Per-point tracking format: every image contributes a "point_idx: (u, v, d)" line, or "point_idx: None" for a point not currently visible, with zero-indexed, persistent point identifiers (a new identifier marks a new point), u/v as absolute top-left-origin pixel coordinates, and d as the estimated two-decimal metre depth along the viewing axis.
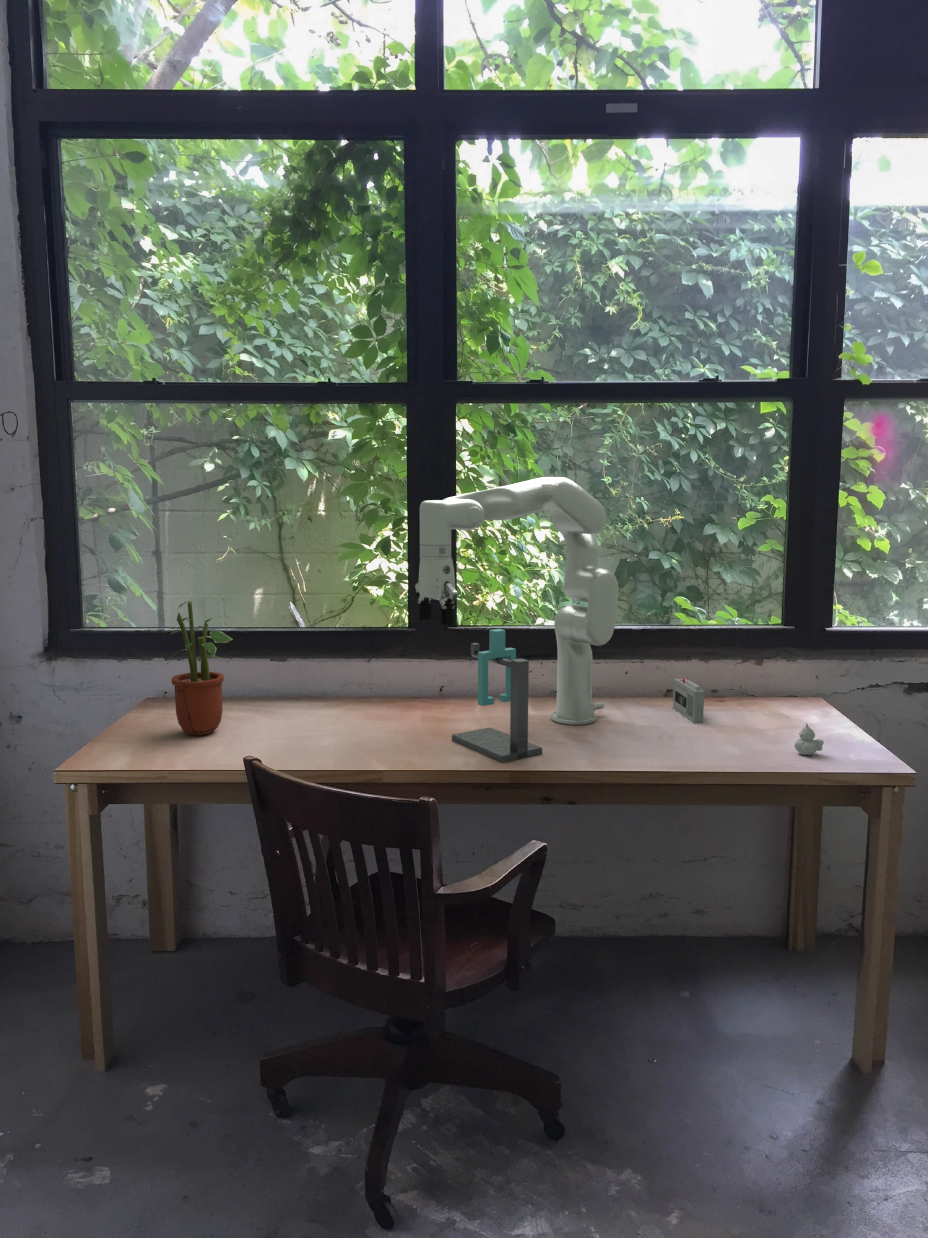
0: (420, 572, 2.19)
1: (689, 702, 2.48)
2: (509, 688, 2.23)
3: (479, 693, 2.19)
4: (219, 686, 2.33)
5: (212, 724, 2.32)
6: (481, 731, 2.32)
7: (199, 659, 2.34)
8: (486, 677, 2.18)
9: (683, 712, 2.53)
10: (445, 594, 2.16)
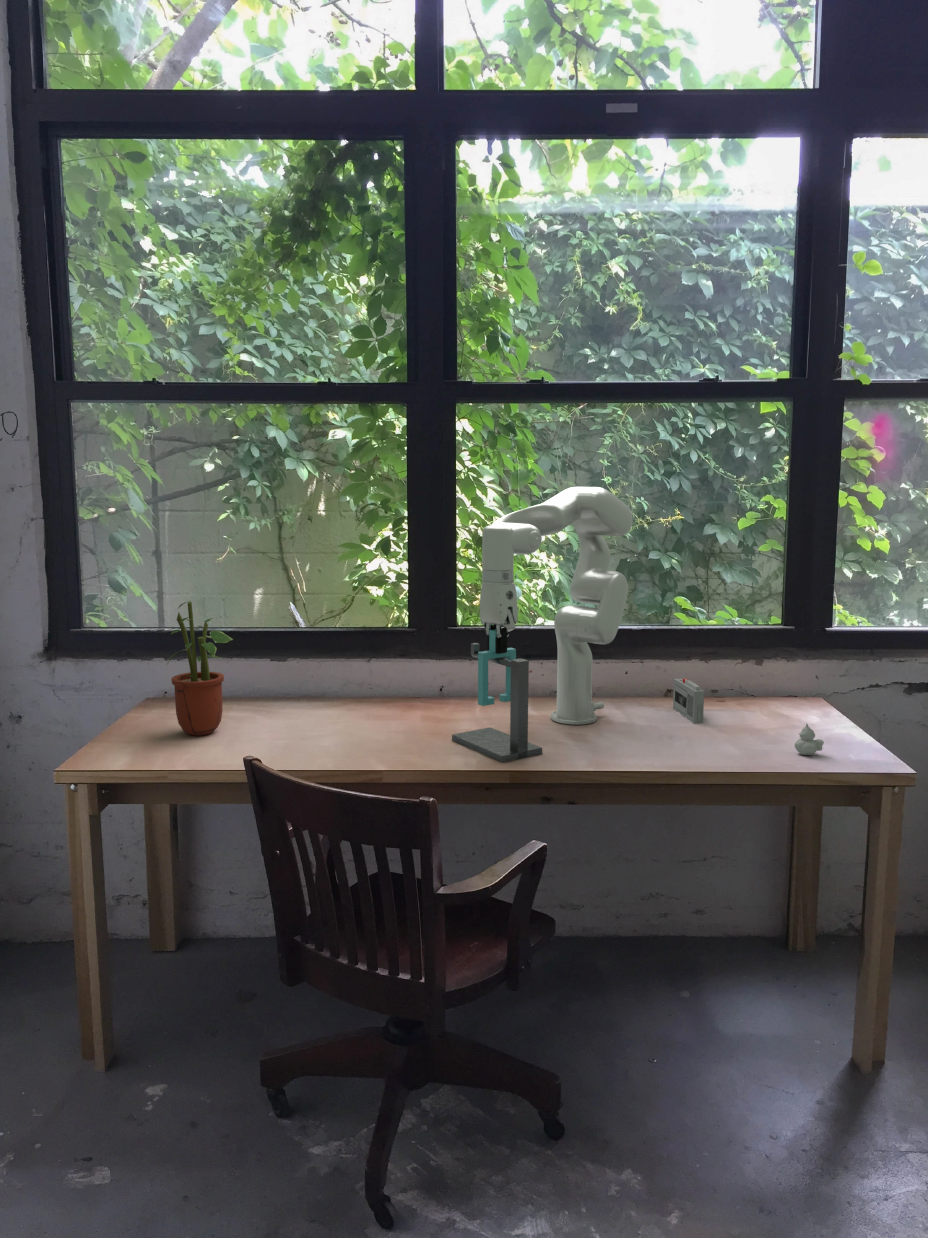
0: (482, 597, 2.19)
1: (689, 702, 2.48)
2: (509, 688, 2.23)
3: (479, 693, 2.19)
4: (219, 686, 2.33)
5: (212, 724, 2.32)
6: (481, 731, 2.32)
7: (199, 659, 2.34)
8: (486, 677, 2.18)
9: (683, 712, 2.53)
10: (504, 620, 2.17)
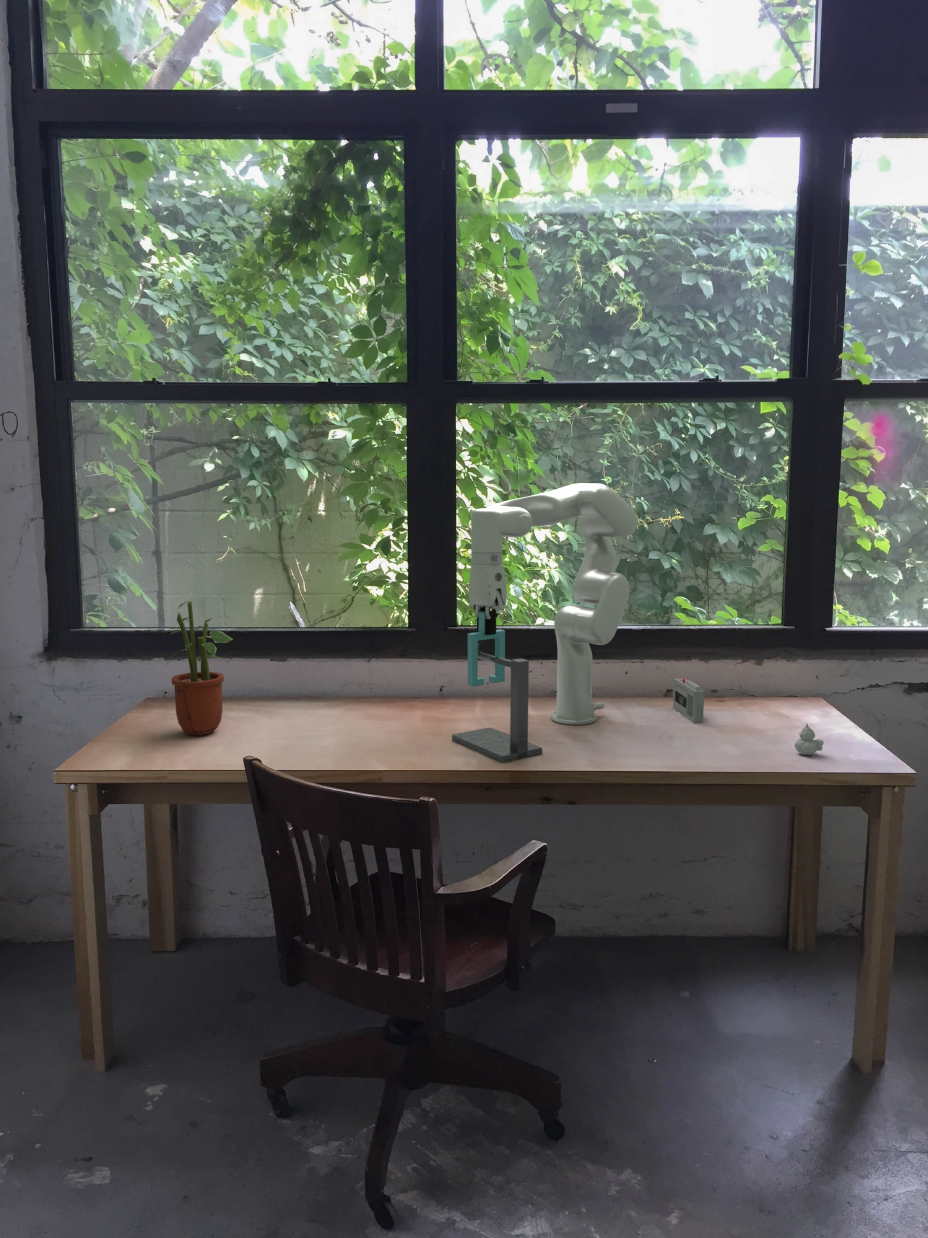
0: (471, 579, 2.22)
1: (689, 702, 2.48)
2: (498, 669, 2.26)
3: (469, 674, 2.22)
4: (219, 686, 2.33)
5: (212, 724, 2.32)
6: (481, 731, 2.32)
7: (199, 659, 2.34)
8: (476, 658, 2.21)
9: (683, 712, 2.53)
10: (493, 602, 2.21)
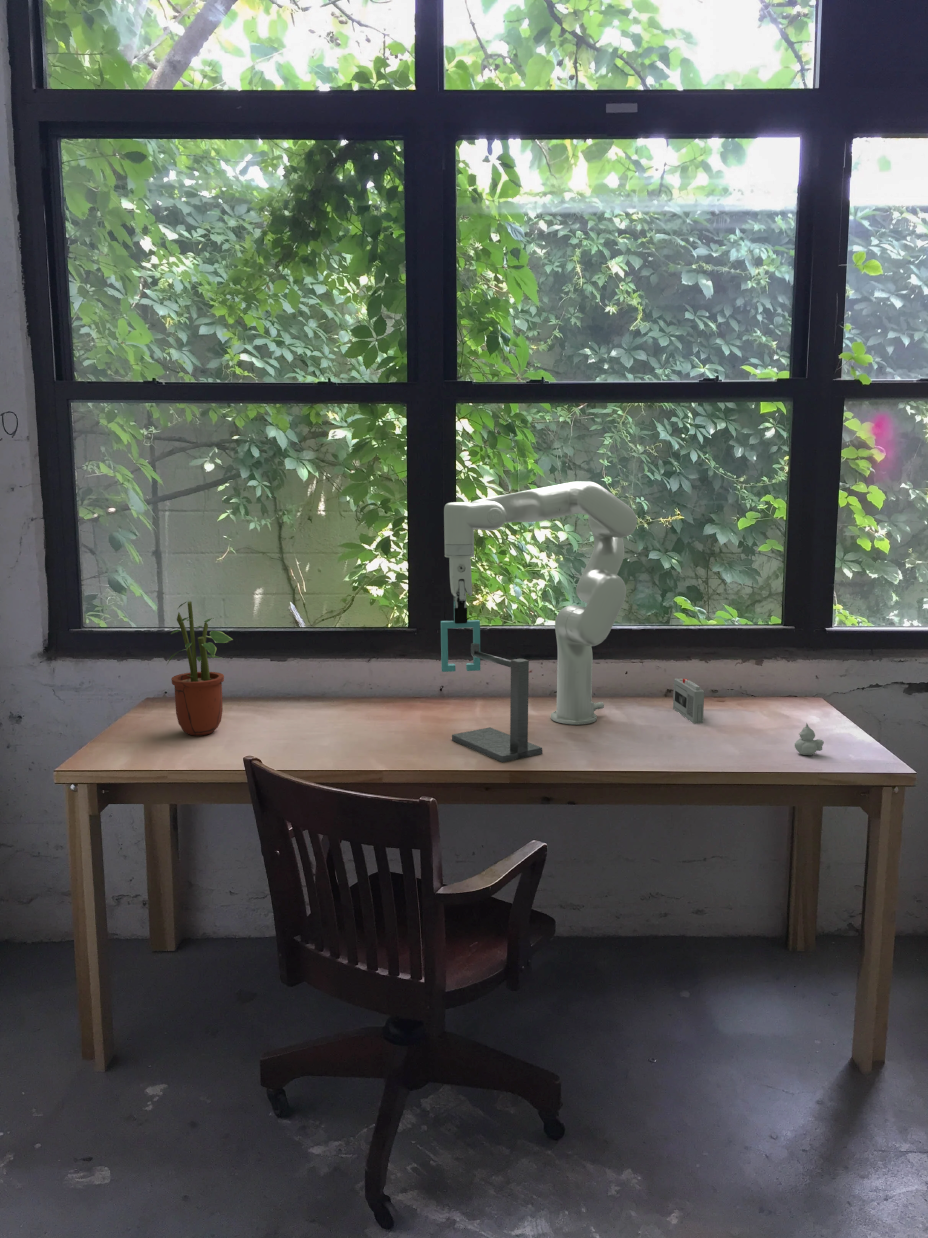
0: None
1: (689, 702, 2.48)
2: (474, 658, 2.34)
3: (441, 660, 2.34)
4: (219, 686, 2.33)
5: (212, 724, 2.32)
6: (481, 731, 2.32)
7: (199, 659, 2.34)
8: (445, 645, 2.32)
9: (683, 712, 2.53)
10: None
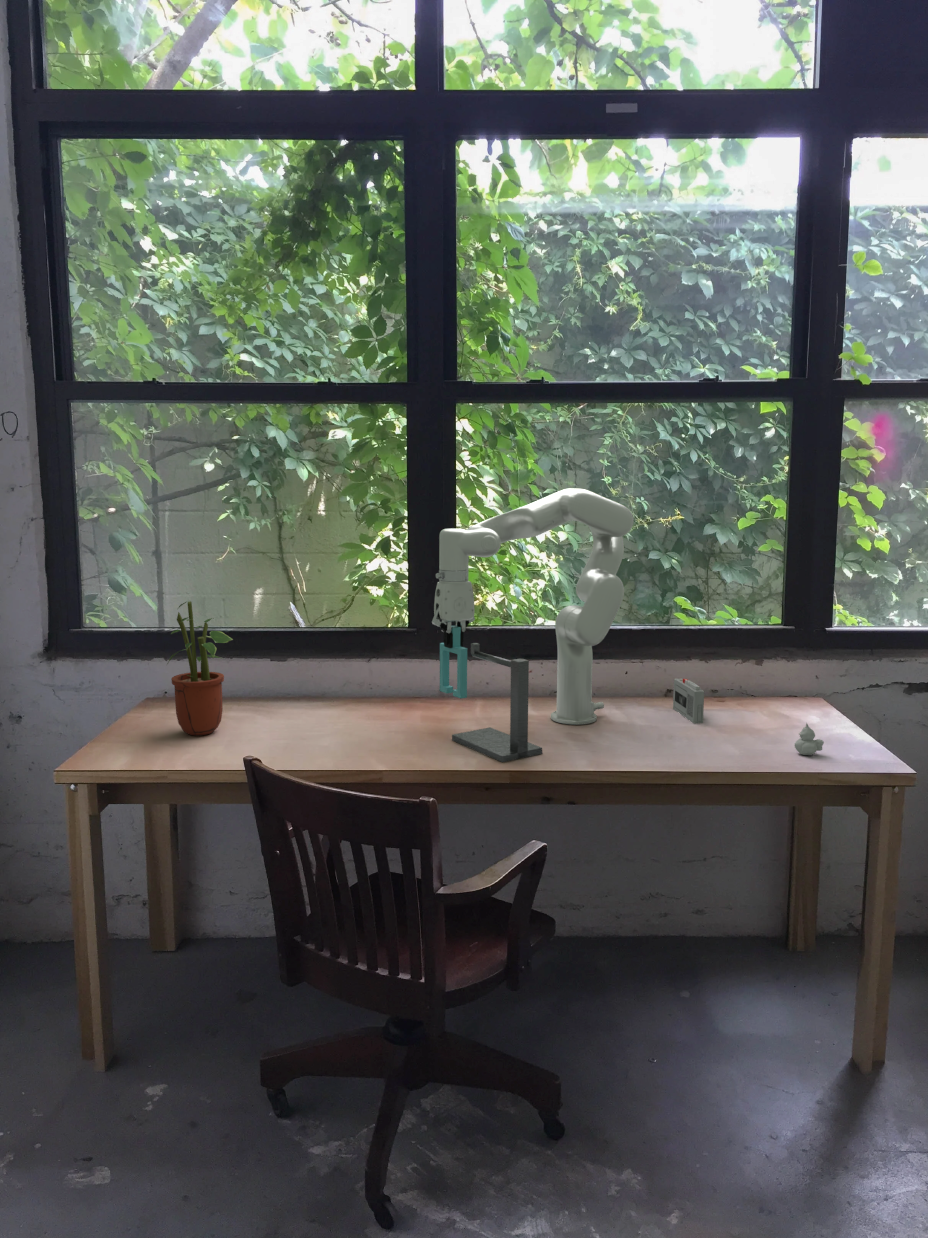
0: None
1: (689, 702, 2.48)
2: None
3: None
4: (219, 686, 2.33)
5: (212, 724, 2.32)
6: (481, 731, 2.32)
7: (199, 659, 2.34)
8: (442, 666, 2.39)
9: (683, 712, 2.53)
10: None
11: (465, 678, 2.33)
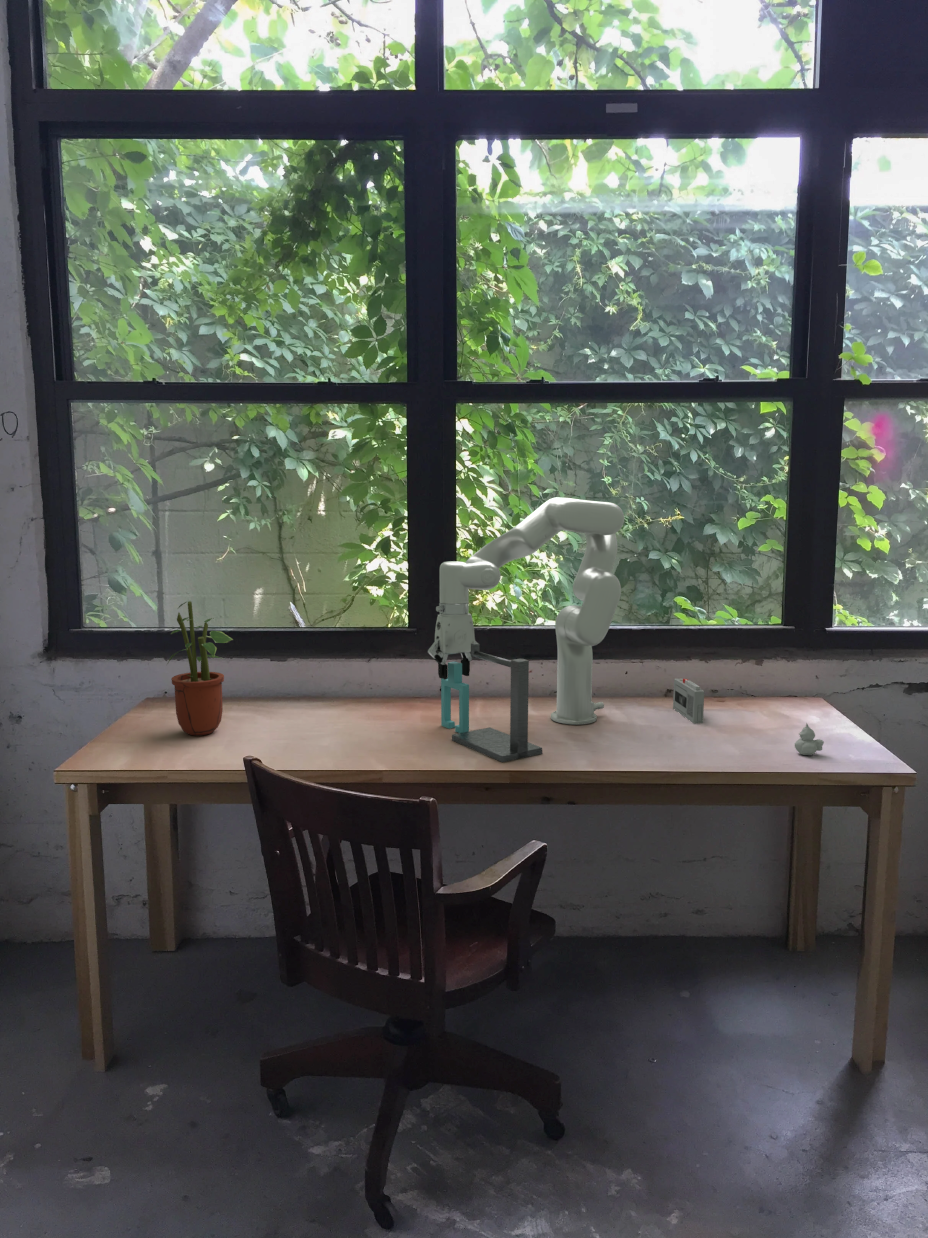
0: None
1: (689, 702, 2.48)
2: None
3: None
4: (219, 686, 2.33)
5: (212, 724, 2.32)
6: (481, 731, 2.32)
7: (199, 659, 2.34)
8: (443, 701, 2.41)
9: (683, 712, 2.53)
10: None
11: (467, 714, 2.35)
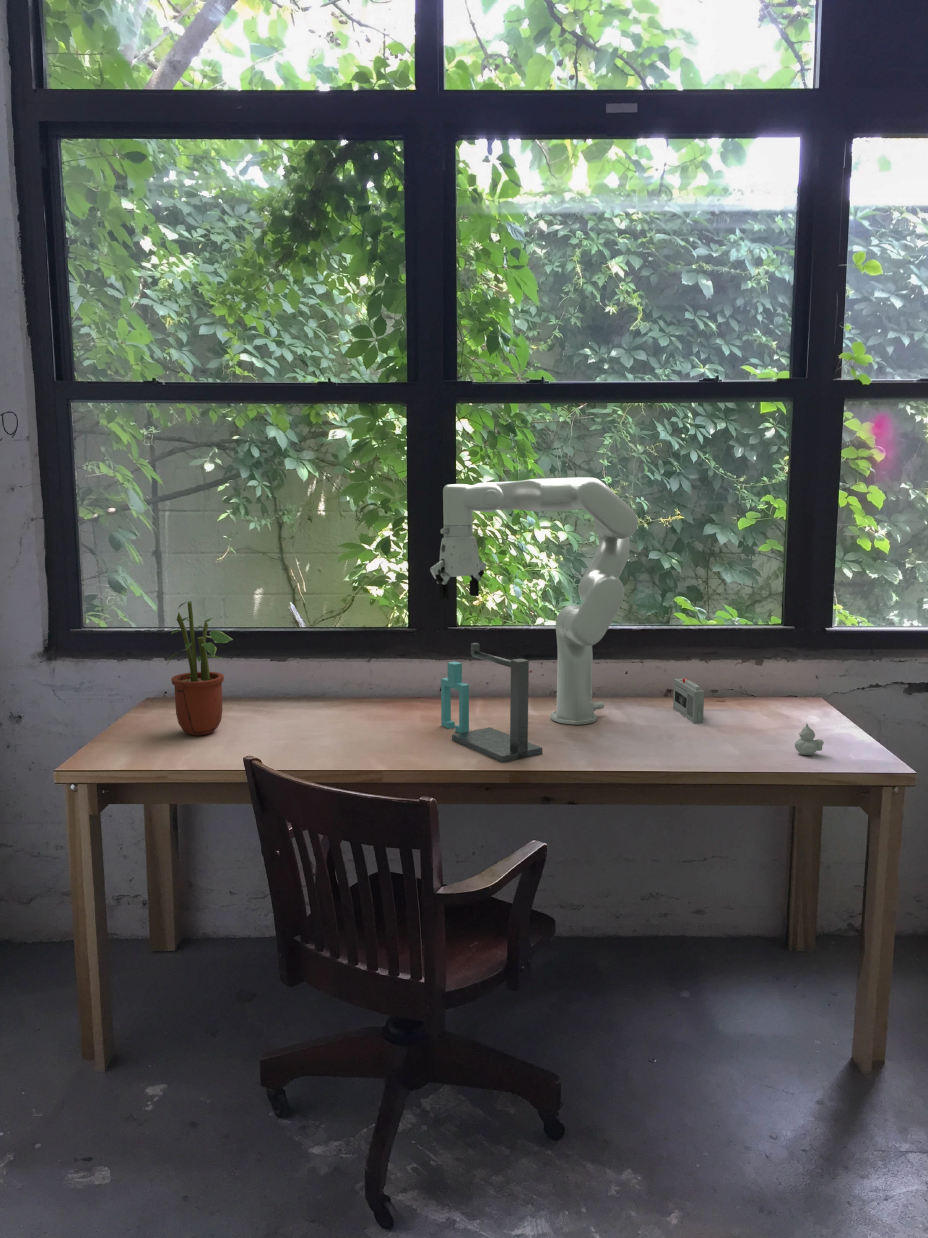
0: None
1: (689, 702, 2.48)
2: None
3: None
4: (219, 686, 2.33)
5: (212, 724, 2.32)
6: (481, 731, 2.32)
7: (199, 659, 2.34)
8: (443, 701, 2.41)
9: (683, 712, 2.53)
10: None
11: (467, 714, 2.35)
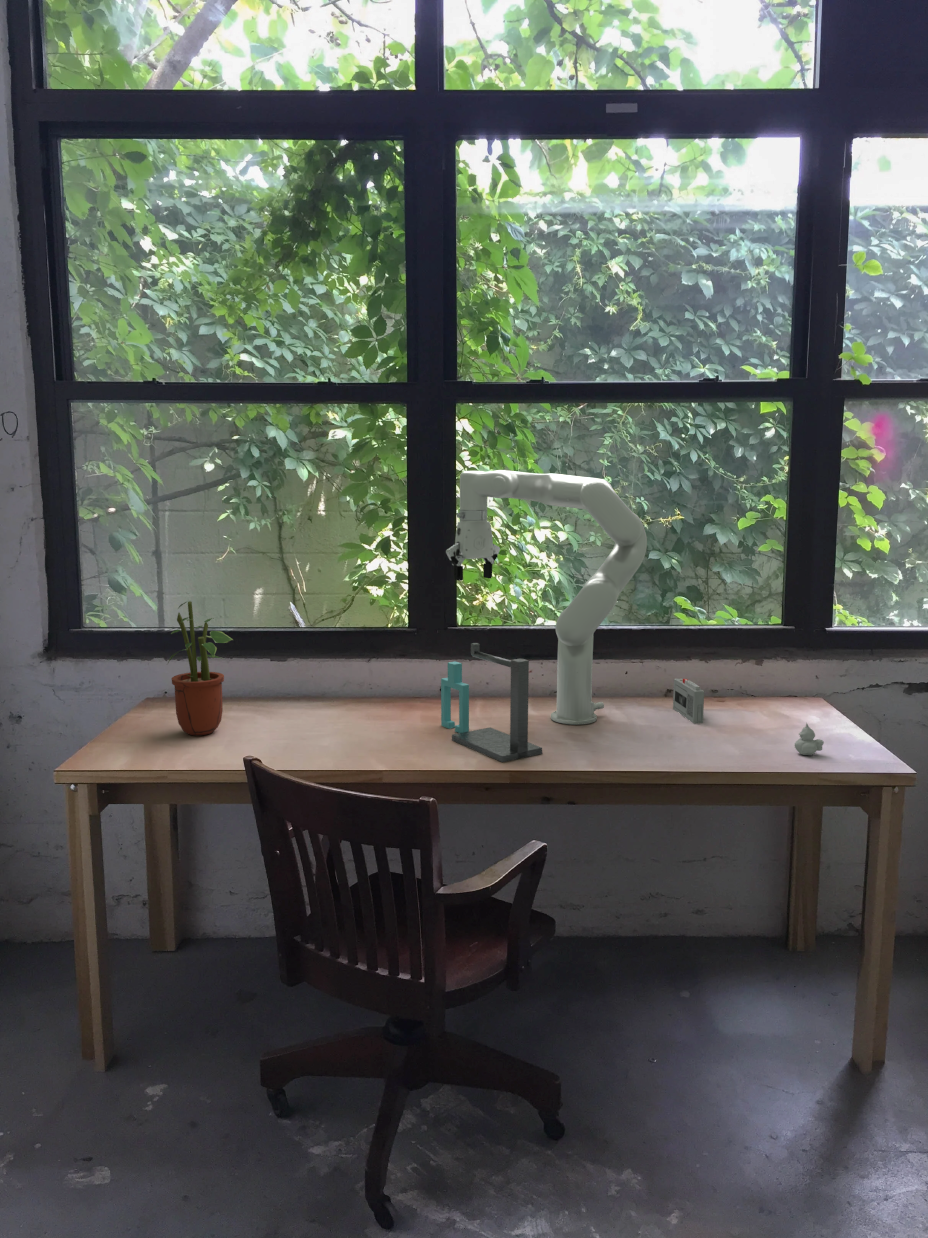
0: None
1: (689, 702, 2.48)
2: None
3: None
4: (219, 686, 2.33)
5: (212, 724, 2.32)
6: (481, 731, 2.32)
7: (199, 659, 2.34)
8: (443, 701, 2.41)
9: (683, 712, 2.53)
10: None
11: (467, 714, 2.35)
